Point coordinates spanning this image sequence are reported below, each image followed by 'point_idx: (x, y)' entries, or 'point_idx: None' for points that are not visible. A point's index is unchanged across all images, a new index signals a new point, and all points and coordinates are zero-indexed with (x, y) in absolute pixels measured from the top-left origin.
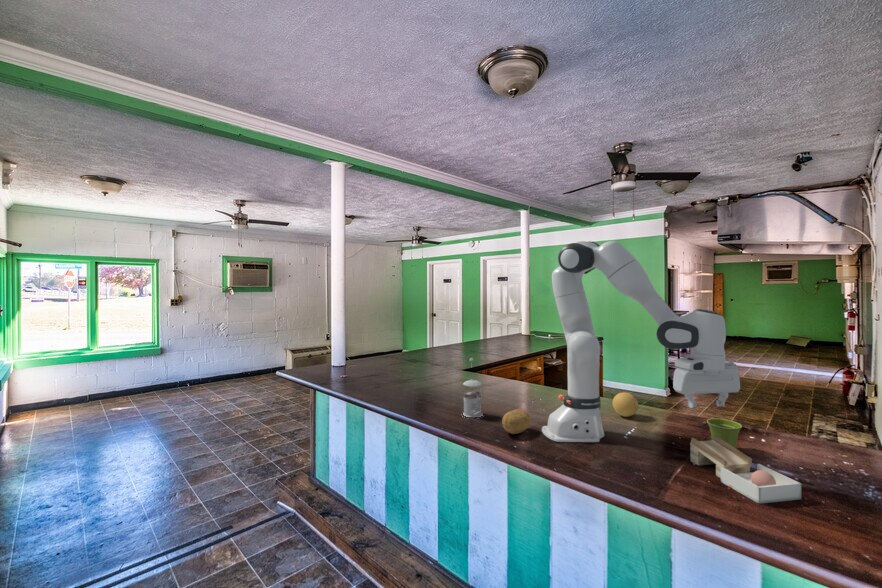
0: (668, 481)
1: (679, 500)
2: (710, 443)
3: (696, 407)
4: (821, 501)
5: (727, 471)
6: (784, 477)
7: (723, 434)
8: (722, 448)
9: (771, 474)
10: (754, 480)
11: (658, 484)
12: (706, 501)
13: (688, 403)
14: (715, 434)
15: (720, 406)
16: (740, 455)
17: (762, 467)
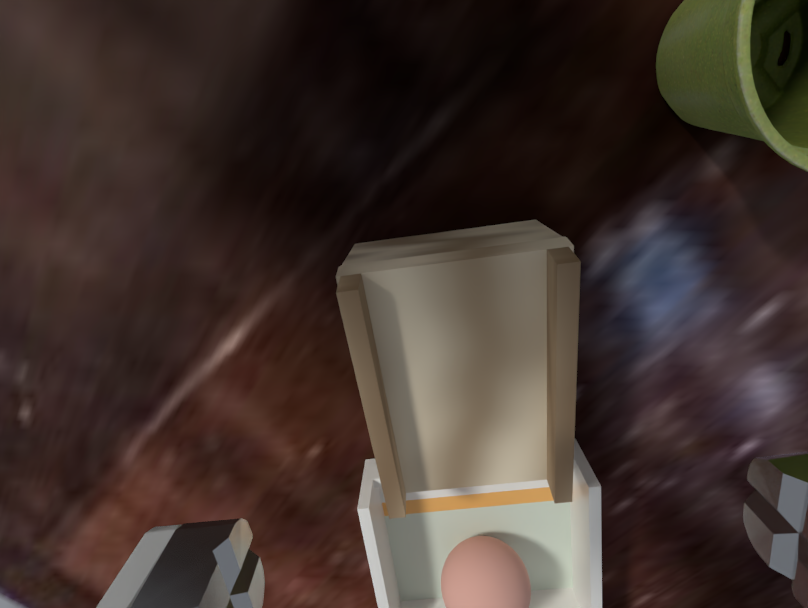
0: (129, 445)
1: (115, 568)
2: (483, 293)
3: (261, 593)
4: (639, 598)
5: (364, 542)
6: (590, 597)
7: (743, 126)
8: (521, 352)
9: (583, 534)
10: (441, 589)
11: (75, 466)
12: None
13: (122, 578)
14: (706, 64)
15: (756, 545)
16: (551, 448)
17: (587, 506)
